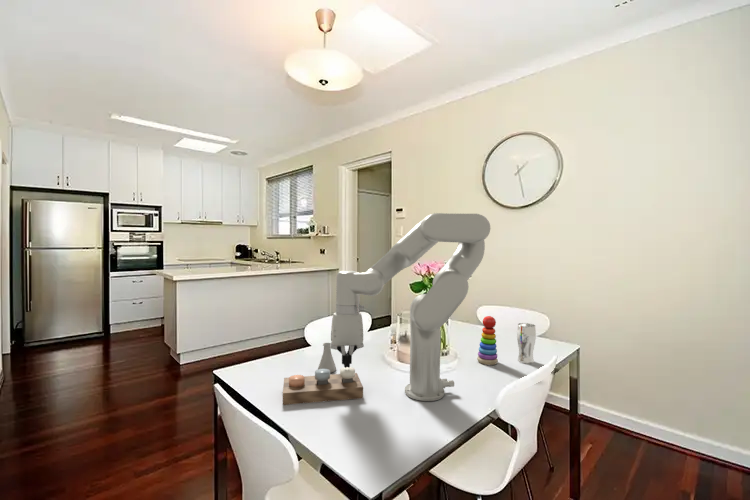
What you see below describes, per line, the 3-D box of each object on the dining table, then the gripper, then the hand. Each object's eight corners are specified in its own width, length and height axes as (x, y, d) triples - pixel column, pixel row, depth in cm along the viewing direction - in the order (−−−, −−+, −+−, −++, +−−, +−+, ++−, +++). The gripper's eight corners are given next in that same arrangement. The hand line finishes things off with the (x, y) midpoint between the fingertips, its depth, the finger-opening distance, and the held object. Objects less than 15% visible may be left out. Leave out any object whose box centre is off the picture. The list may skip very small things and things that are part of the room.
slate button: (329, 384, 117) (329, 368, 117) (330, 391, 112) (330, 373, 112) (314, 386, 116) (314, 369, 116) (315, 392, 111) (315, 374, 111)
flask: (333, 374, 130) (333, 347, 130) (314, 372, 132) (314, 345, 131) (339, 367, 137) (339, 341, 137) (321, 366, 139) (321, 340, 138)
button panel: (356, 382, 123) (356, 372, 123) (362, 398, 111) (363, 387, 111) (284, 388, 118) (284, 377, 118) (282, 405, 106) (282, 393, 106)
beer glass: (516, 362, 144) (517, 325, 144) (516, 357, 151) (517, 322, 150) (535, 365, 142) (536, 327, 141) (534, 359, 148) (535, 323, 148)
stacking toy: (477, 364, 142) (478, 317, 141) (476, 358, 150) (477, 313, 149) (498, 366, 140) (499, 318, 140) (496, 359, 148) (497, 314, 147)
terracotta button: (304, 391, 116) (304, 374, 115) (304, 397, 111) (304, 380, 111) (288, 392, 115) (289, 375, 114) (288, 399, 110) (288, 381, 110)
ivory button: (353, 383, 119) (353, 366, 119) (356, 389, 114) (356, 371, 114) (339, 384, 118) (339, 367, 118) (340, 390, 113) (341, 372, 113)
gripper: (368, 306, 120) (367, 361, 121) (323, 307, 117) (322, 363, 118) (373, 311, 113) (371, 369, 114) (325, 312, 110) (324, 371, 111)
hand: (346, 366), depth 116 cm, fingers closed
